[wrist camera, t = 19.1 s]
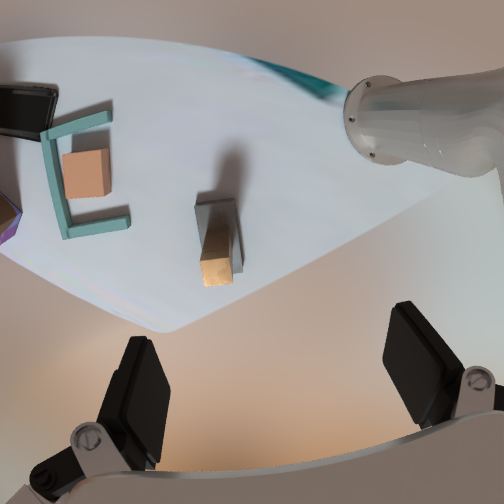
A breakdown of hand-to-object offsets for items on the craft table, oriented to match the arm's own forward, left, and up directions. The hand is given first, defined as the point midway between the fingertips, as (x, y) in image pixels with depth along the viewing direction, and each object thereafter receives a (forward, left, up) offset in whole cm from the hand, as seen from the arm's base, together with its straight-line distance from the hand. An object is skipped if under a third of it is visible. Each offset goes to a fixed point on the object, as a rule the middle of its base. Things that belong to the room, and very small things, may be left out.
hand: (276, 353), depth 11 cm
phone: (+32, -18, -31) cm, 48 cm away
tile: (+20, -5, -31) cm, 37 cm away
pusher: (+4, +6, -30) cm, 31 cm away
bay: (+21, -5, -30) cm, 37 cm away
